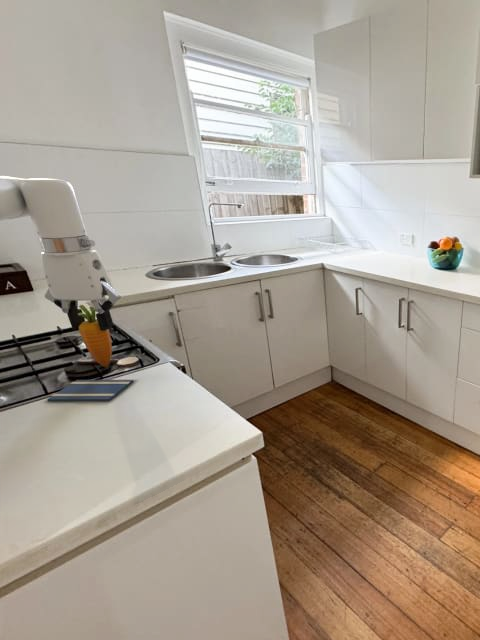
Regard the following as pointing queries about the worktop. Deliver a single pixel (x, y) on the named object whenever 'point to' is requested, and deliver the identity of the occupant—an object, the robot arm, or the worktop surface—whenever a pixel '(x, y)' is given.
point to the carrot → (95, 337)
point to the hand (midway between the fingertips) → (93, 327)
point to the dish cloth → (91, 390)
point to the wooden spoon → (114, 361)
